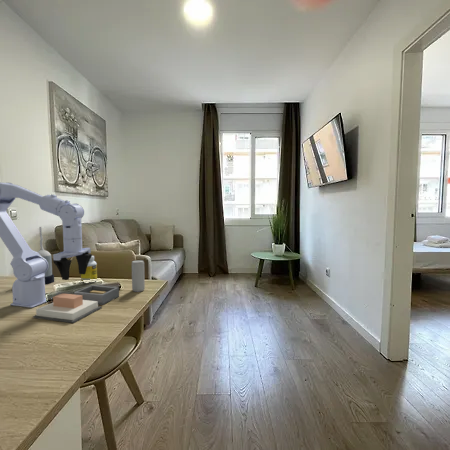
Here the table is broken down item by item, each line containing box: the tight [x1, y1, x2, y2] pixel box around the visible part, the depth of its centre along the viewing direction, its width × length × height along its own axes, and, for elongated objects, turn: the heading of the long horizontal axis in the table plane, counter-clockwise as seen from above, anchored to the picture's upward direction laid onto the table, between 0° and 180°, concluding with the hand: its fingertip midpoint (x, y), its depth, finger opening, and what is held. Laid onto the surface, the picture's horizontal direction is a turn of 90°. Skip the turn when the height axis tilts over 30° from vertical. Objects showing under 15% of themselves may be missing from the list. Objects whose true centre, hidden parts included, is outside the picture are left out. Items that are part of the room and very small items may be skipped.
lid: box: [35, 293, 99, 320], centre depth 86 cm, size 14×11×5 cm
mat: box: [32, 305, 103, 324], centre depth 87 cm, size 15×12×1 cm
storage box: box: [73, 284, 120, 306], centre depth 99 cm, size 12×9×4 cm
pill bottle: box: [80, 255, 98, 282], centre depth 121 cm, size 6×6×12 cm
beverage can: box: [131, 259, 146, 293], centre depth 109 cm, size 5×5×12 cm
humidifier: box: [37, 226, 55, 286], centre depth 119 cm, size 8×8×25 cm
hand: (74, 276), depth 95 cm, fingers open, 7 cm apart
